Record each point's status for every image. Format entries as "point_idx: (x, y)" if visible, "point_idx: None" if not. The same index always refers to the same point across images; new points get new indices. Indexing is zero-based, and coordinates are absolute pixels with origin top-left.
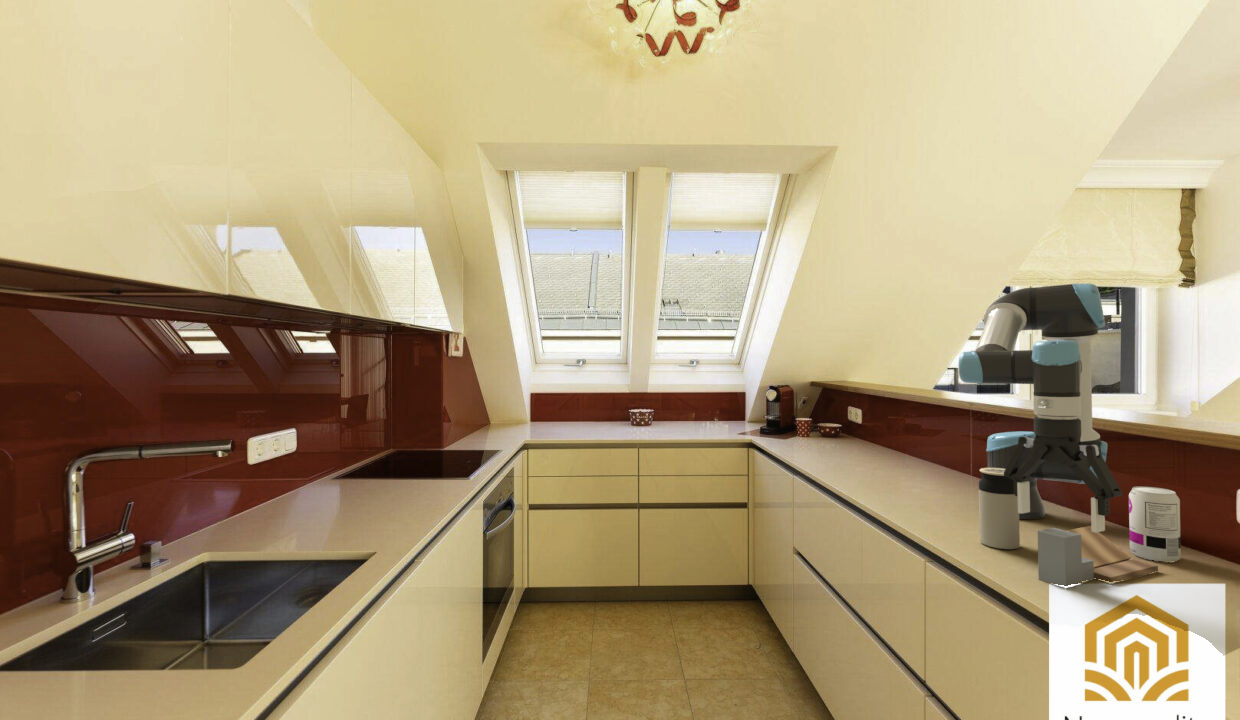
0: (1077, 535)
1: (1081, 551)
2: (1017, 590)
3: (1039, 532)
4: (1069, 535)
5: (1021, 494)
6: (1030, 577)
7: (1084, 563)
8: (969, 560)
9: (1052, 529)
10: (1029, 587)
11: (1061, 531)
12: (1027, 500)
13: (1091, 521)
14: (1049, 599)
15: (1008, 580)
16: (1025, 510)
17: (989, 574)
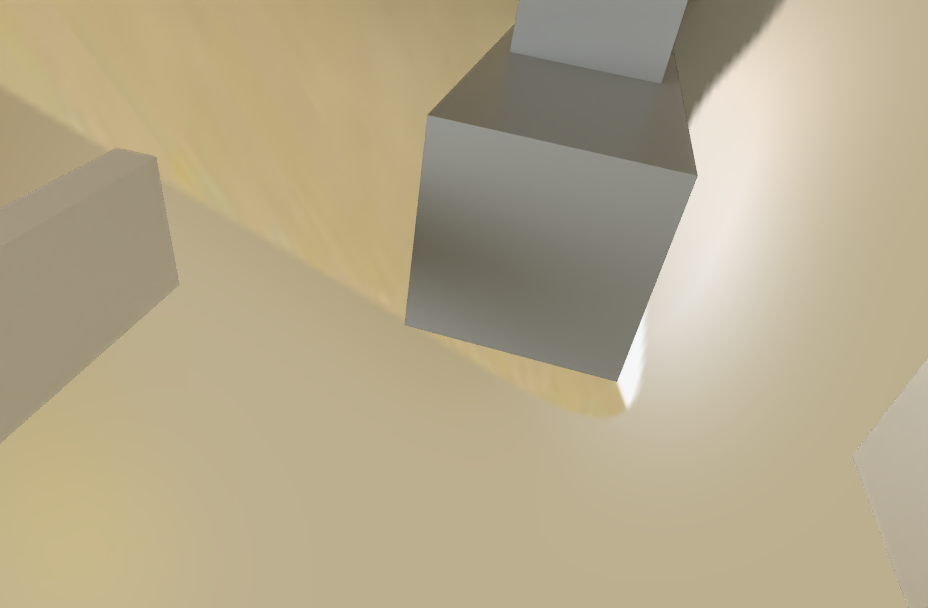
0: (675, 228)
1: (685, 116)
2: (498, 368)
3: (422, 322)
4: (623, 287)
5: (8, 430)
6: None
7: (683, 11)
8: (182, 167)
9: (451, 197)
10: None
11: (529, 206)
12: (53, 267)
13: (890, 557)
14: None
15: None
16: (150, 240)
17: (342, 279)
